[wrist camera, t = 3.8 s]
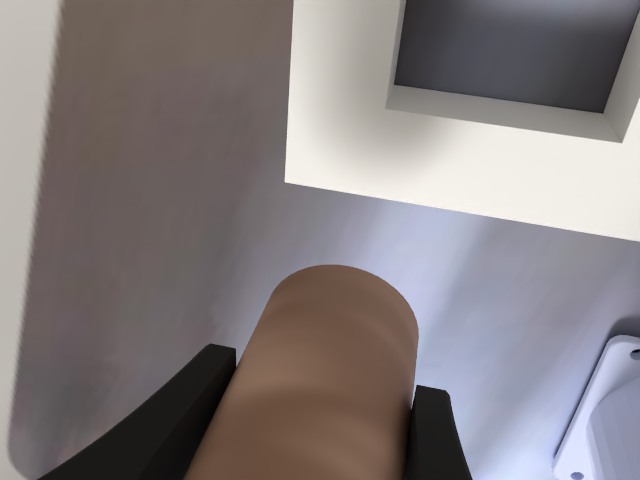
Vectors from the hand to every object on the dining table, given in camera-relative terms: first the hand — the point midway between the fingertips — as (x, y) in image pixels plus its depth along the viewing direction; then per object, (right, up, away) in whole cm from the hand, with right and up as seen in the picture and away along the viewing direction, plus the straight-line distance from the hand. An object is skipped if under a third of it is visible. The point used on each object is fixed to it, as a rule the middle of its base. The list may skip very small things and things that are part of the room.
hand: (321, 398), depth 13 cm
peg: (0, +1, +2) cm, 2 cm away
